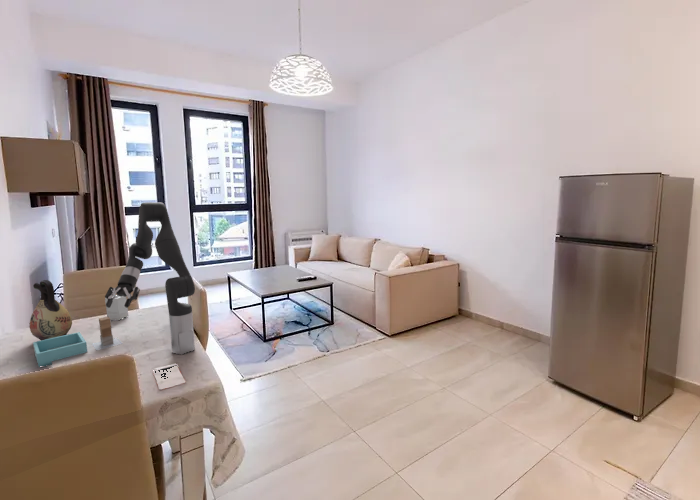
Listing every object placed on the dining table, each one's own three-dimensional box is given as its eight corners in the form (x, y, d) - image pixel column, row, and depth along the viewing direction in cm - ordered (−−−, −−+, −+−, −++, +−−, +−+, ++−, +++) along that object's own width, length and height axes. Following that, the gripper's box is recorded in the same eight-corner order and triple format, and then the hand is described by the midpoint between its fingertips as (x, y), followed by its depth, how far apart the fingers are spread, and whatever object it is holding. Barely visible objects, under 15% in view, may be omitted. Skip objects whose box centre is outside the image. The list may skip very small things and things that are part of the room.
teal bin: (87, 355, 152) (86, 342, 151) (38, 368, 141) (36, 353, 140) (81, 344, 163) (79, 331, 162) (35, 355, 152) (33, 342, 151)
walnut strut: (113, 343, 160) (110, 318, 158) (103, 346, 157) (100, 320, 155) (111, 341, 163) (108, 316, 161) (101, 343, 160) (98, 318, 158)
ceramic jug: (25, 342, 165) (16, 280, 160) (64, 331, 178) (56, 273, 174) (43, 350, 157) (33, 284, 152) (82, 337, 171) (74, 277, 166)
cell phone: (159, 391, 124) (159, 389, 124) (152, 371, 139) (152, 369, 139) (186, 384, 130) (186, 381, 129) (176, 365, 144) (176, 362, 144)
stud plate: (123, 346, 160) (122, 336, 160) (96, 353, 153) (95, 342, 153) (117, 340, 167) (116, 330, 166) (92, 346, 160) (90, 336, 159)
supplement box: (129, 316, 200) (126, 294, 198) (119, 320, 193) (117, 298, 191) (117, 315, 201) (114, 294, 199) (106, 320, 194) (104, 298, 192)
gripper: (111, 273, 173) (97, 303, 164) (140, 273, 173) (128, 303, 164) (119, 281, 179) (106, 310, 170) (147, 281, 179) (135, 310, 170)
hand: (117, 307), depth 167 cm, fingers open, 8 cm apart
